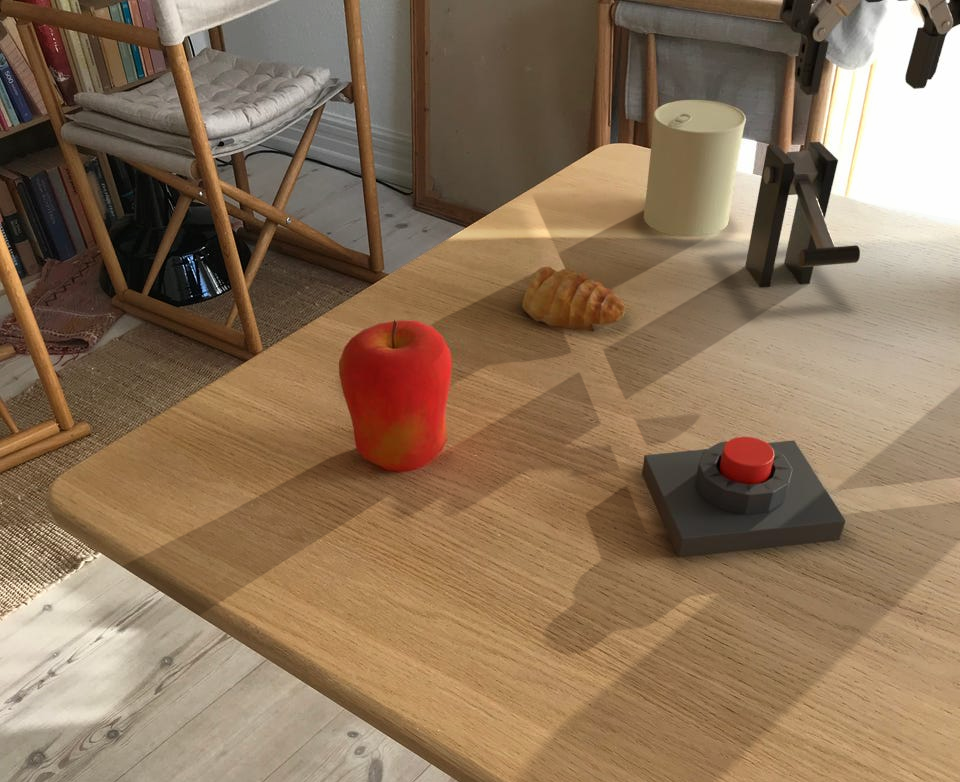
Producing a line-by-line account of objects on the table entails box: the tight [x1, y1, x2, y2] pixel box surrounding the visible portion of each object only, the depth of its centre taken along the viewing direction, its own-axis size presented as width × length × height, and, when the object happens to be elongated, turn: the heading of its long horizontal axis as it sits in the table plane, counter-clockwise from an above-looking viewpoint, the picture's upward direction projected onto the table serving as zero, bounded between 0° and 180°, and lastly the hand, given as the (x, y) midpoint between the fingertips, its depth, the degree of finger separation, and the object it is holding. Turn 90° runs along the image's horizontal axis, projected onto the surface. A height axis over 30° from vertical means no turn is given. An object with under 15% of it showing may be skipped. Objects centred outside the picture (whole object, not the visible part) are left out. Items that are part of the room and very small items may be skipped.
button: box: [720, 436, 774, 485], centre depth 75 cm, size 4×4×2 cm
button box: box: [641, 440, 846, 559], centre depth 76 cm, size 12×10×4 cm
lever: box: [785, 150, 861, 267], centre depth 92 cm, size 12×5×2 cm, turn 9°
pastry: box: [521, 266, 627, 332], centre depth 97 cm, size 9×7×4 cm
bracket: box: [745, 141, 839, 289], centre depth 98 cm, size 12×9×13 cm
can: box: [643, 99, 747, 238], centre depth 107 cm, size 9×9×12 cm
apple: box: [338, 319, 453, 473], centre depth 79 cm, size 9×8×12 cm
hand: (861, 88), depth 79 cm, fingers open, 8 cm apart
